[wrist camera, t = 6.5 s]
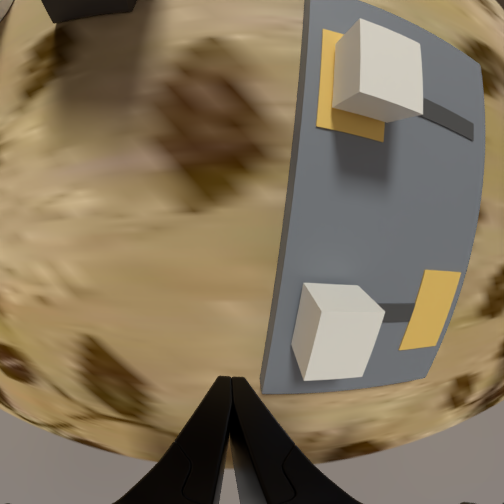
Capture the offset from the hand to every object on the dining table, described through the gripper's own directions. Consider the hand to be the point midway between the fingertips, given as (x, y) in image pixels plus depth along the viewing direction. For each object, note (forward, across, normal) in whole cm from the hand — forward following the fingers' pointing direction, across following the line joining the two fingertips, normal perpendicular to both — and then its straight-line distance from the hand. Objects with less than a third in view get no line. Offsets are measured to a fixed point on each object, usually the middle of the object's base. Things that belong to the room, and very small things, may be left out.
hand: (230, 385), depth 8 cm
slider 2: (+5, -5, 0) cm, 7 cm away
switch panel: (+7, -9, -6) cm, 13 cm away
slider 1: (+5, -5, -12) cm, 14 cm away
